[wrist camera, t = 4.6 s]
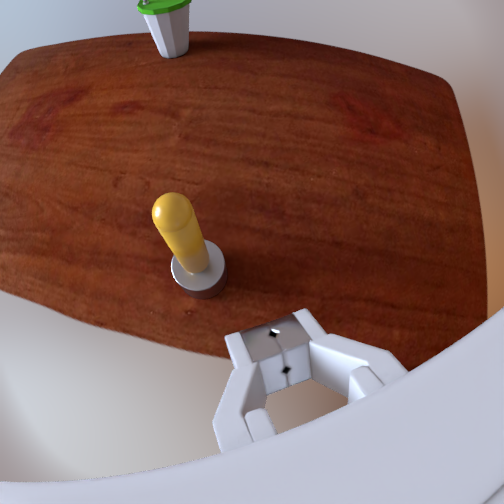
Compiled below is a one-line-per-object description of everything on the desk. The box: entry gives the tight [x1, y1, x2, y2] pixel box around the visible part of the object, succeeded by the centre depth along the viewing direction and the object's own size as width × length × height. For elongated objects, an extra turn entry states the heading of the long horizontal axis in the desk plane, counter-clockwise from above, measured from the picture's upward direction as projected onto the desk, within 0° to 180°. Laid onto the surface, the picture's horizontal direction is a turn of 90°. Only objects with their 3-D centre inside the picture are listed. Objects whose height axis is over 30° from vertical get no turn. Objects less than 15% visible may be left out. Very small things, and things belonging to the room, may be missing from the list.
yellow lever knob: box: [152, 192, 227, 299], centre depth 24 cm, size 5×5×14 cm
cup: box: [137, 0, 191, 58], centre depth 36 cm, size 8×8×15 cm
